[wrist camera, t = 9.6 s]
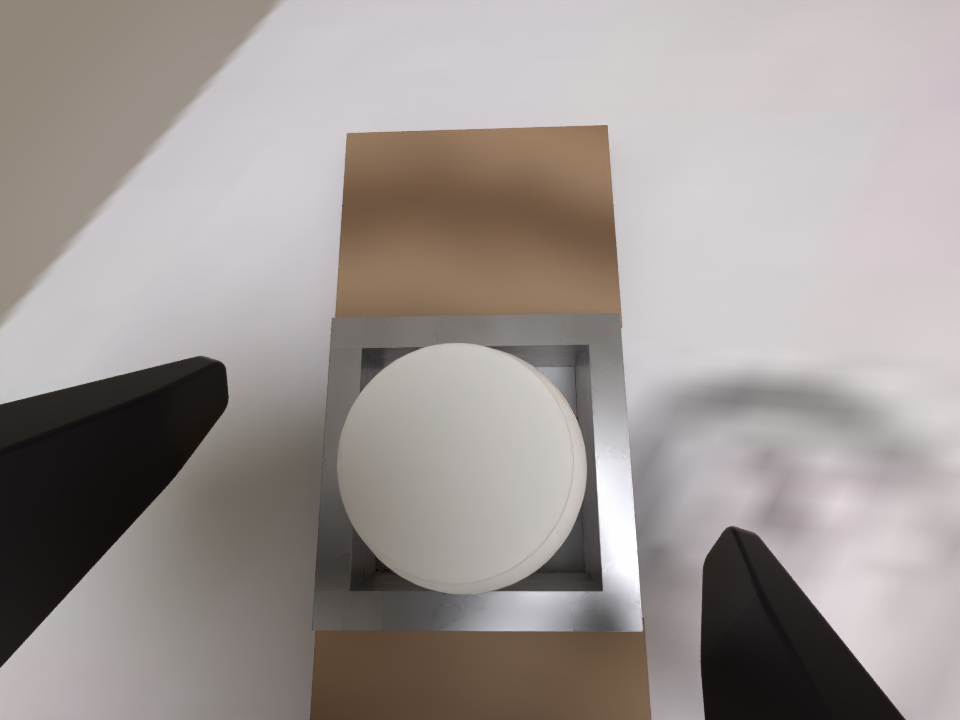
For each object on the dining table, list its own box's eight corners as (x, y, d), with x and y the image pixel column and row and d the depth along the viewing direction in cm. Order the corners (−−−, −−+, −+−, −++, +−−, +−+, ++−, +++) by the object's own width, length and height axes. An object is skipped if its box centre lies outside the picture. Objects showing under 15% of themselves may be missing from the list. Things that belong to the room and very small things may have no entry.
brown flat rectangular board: (654, 910, 15) (667, 946, 14) (311, 902, 15) (296, 937, 14) (601, 145, 21) (607, 125, 19) (355, 152, 21) (346, 133, 20)
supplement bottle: (418, 382, 19) (334, 279, 9) (565, 407, 18) (635, 327, 9) (386, 535, 17) (252, 598, 8) (542, 566, 17) (596, 670, 8)
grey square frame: (617, 605, 17) (642, 631, 14) (344, 605, 17) (311, 630, 14) (600, 339, 19) (619, 312, 16) (357, 343, 19) (332, 318, 16)
